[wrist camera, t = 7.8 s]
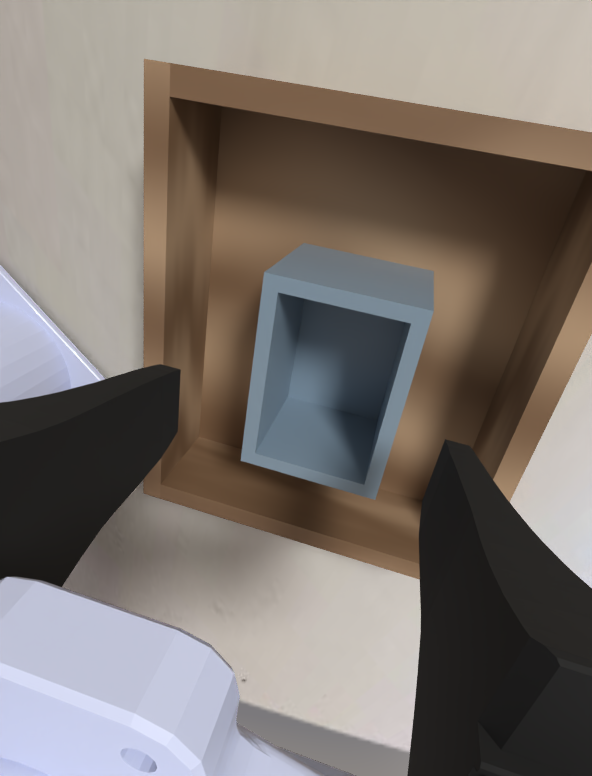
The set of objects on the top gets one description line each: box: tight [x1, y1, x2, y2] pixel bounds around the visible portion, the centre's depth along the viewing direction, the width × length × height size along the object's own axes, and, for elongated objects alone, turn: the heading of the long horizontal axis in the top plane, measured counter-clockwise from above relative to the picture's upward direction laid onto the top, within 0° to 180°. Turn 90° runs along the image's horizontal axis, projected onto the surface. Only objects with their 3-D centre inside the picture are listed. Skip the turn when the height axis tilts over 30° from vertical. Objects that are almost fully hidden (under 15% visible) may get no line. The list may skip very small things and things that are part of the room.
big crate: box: [144, 59, 592, 579], centre depth 18 cm, size 16×14×4 cm
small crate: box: [241, 243, 434, 500], centre depth 18 cm, size 7×5×5 cm
